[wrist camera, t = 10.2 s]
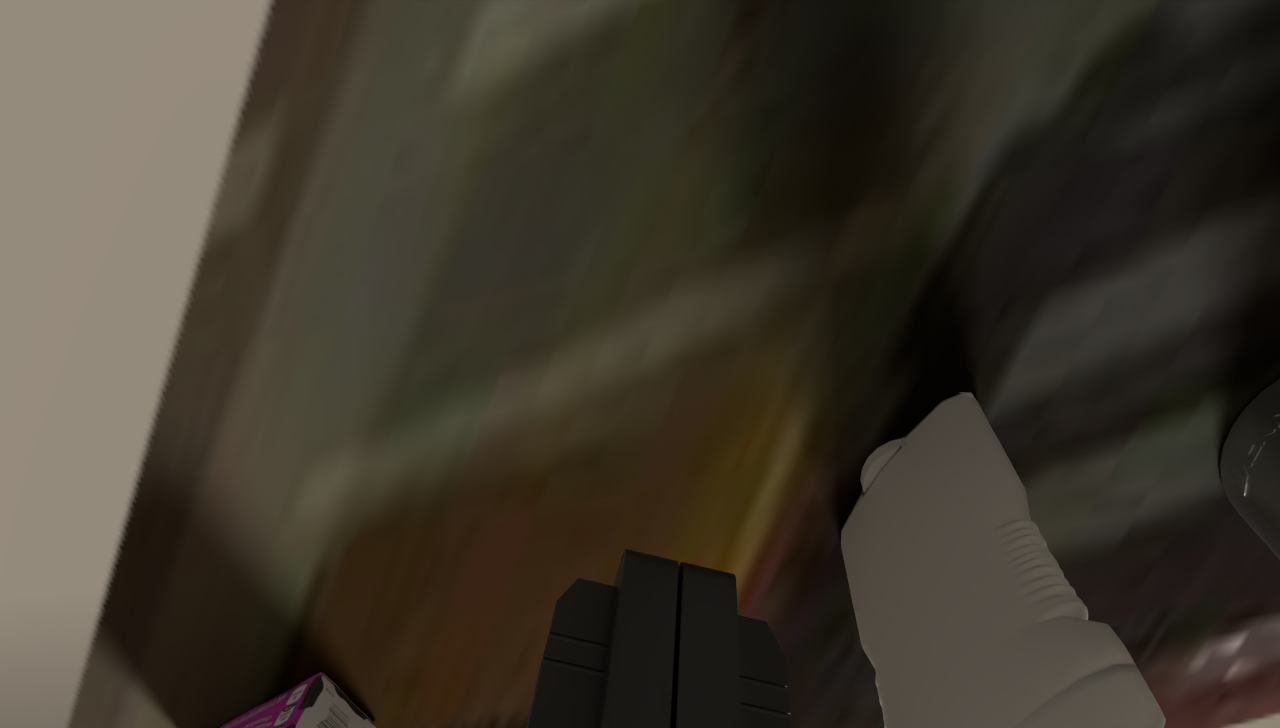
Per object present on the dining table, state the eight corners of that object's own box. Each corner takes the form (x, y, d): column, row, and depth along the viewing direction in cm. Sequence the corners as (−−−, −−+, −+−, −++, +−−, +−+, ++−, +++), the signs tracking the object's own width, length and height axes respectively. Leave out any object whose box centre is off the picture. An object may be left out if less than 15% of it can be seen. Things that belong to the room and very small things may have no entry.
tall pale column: (878, 574, 45) (1009, 1095, 25) (805, 539, 44) (879, 1043, 24) (1016, 406, 40) (1309, 875, 20) (937, 364, 40) (1160, 805, 20)
